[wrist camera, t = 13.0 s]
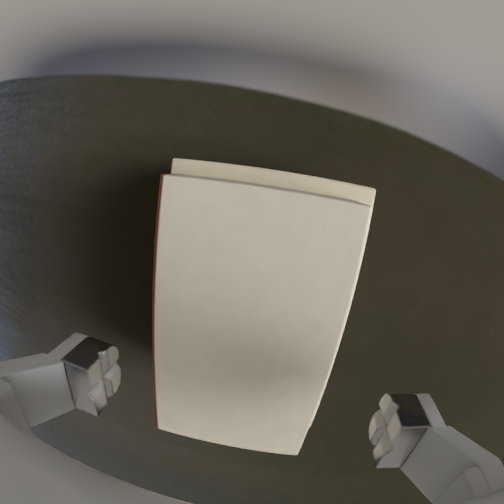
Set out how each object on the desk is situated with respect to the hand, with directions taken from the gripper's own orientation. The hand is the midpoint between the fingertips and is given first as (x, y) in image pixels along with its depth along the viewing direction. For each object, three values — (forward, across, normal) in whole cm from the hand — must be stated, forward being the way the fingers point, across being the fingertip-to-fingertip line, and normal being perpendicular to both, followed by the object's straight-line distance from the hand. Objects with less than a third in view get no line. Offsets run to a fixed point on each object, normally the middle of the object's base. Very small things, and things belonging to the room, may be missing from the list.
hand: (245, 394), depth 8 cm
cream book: (+4, 0, 0) cm, 4 cm away
